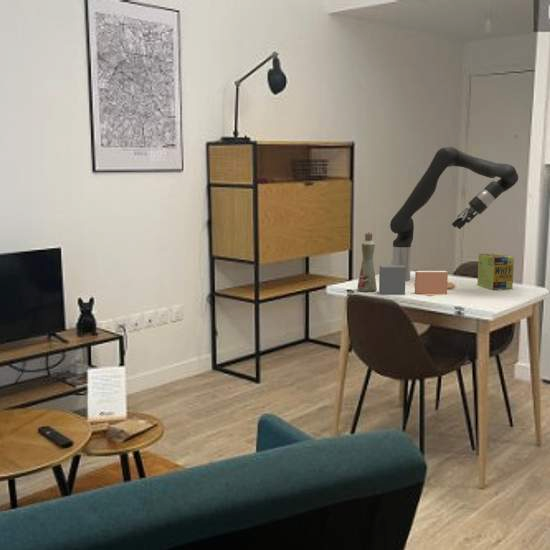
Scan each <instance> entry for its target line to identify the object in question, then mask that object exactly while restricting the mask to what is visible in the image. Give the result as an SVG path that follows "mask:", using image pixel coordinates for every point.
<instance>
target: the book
mask: <svg viewBox="0 0 550 550" xmlns="http://www.w3.org/2000/svg"><path fill="white" fill-rule="evenodd" d="M448 273H449V272H448V271H447V270H415V274H414V275H415V277H414V293H415V294H417V295H422V294H444V295H446V294H448Z"/></svg>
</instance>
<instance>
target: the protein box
mask: <svg viewBox="0 0 550 550" xmlns="http://www.w3.org/2000/svg"><path fill="white" fill-rule="evenodd" d="M514 262H515V257H514V256H509V255H506V254H502V253H479V254H478V263H477V264H478V266H477V286H479V287H483V288H485V287H486V289H488V288H489V289H488V290H491V289H492V290H491V291H499V290H498V289H506V290H513V282H514V266H515V265H514V264H515V263H514Z"/></svg>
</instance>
